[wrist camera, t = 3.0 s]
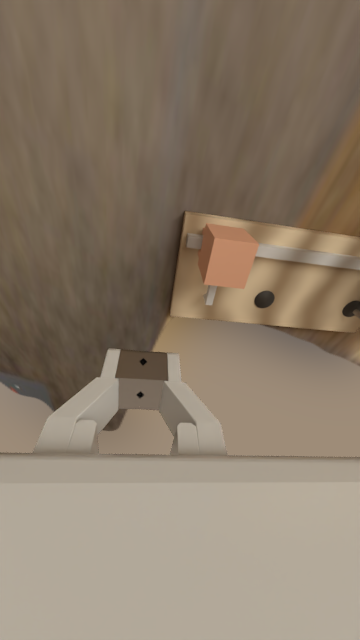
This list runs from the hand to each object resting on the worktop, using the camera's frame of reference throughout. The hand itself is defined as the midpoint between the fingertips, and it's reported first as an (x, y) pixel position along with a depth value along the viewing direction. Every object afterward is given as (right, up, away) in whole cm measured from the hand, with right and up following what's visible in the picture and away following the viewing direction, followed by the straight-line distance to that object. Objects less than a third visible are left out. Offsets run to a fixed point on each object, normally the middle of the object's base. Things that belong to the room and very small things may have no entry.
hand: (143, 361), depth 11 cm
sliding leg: (+6, +8, +18) cm, 20 cm away
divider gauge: (+15, +7, +21) cm, 27 cm away
